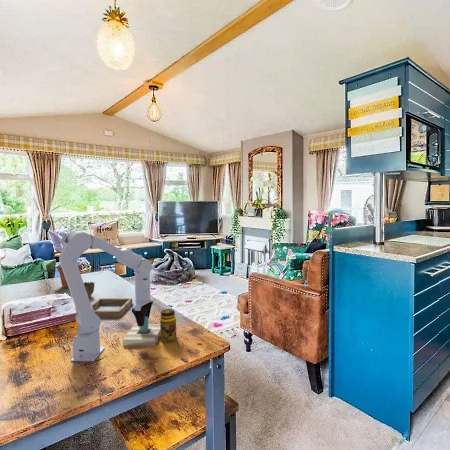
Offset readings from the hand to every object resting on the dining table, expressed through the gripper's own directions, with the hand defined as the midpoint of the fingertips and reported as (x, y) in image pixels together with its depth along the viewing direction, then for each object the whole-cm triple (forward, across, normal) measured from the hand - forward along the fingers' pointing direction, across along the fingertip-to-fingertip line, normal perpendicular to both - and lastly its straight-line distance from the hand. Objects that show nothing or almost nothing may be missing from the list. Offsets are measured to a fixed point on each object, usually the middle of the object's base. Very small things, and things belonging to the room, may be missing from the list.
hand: (143, 322), depth 122 cm
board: (+6, 0, 0) cm, 6 cm away
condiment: (+7, -1, -10) cm, 12 cm away
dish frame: (+6, +29, +26) cm, 39 cm away
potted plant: (+7, +72, +67) cm, 99 cm away
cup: (+7, +49, +46) cm, 68 cm away
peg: (+6, 0, 0) cm, 6 cm away
